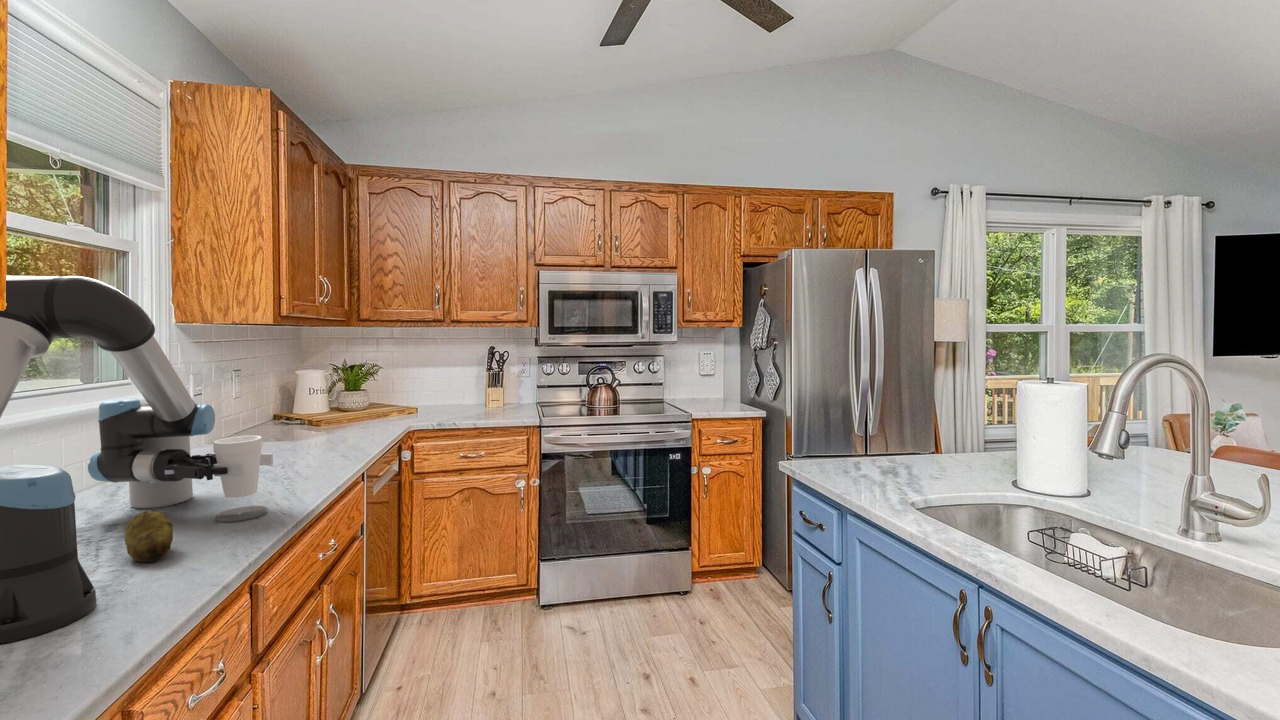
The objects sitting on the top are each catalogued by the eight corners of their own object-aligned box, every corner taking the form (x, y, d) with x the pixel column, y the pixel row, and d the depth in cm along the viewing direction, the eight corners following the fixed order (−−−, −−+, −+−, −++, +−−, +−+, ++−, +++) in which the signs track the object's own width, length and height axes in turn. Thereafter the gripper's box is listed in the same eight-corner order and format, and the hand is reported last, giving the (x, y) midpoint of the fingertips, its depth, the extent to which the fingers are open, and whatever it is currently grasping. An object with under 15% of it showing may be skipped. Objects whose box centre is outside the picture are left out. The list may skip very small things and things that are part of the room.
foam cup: (269, 493, 140) (266, 438, 139) (222, 502, 133) (219, 445, 133) (257, 485, 147) (254, 434, 146) (212, 494, 140) (209, 439, 139)
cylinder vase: (128, 502, 152) (122, 405, 151) (189, 492, 161) (183, 401, 160) (132, 512, 143) (126, 410, 142) (196, 501, 152) (190, 405, 151)
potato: (112, 572, 108) (109, 528, 108) (131, 549, 119) (129, 510, 119) (169, 562, 112) (166, 521, 111) (183, 541, 123) (181, 503, 123)
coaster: (238, 523, 134) (238, 520, 134) (205, 520, 137) (204, 517, 137) (276, 510, 143) (276, 507, 143) (244, 507, 146) (244, 504, 146)
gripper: (200, 469, 151) (287, 468, 151) (123, 494, 129) (225, 493, 129) (198, 440, 151) (285, 439, 150) (121, 460, 128) (223, 459, 128)
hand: (258, 464), depth 139 cm, fingers closed on foam cup, 9 cm apart
